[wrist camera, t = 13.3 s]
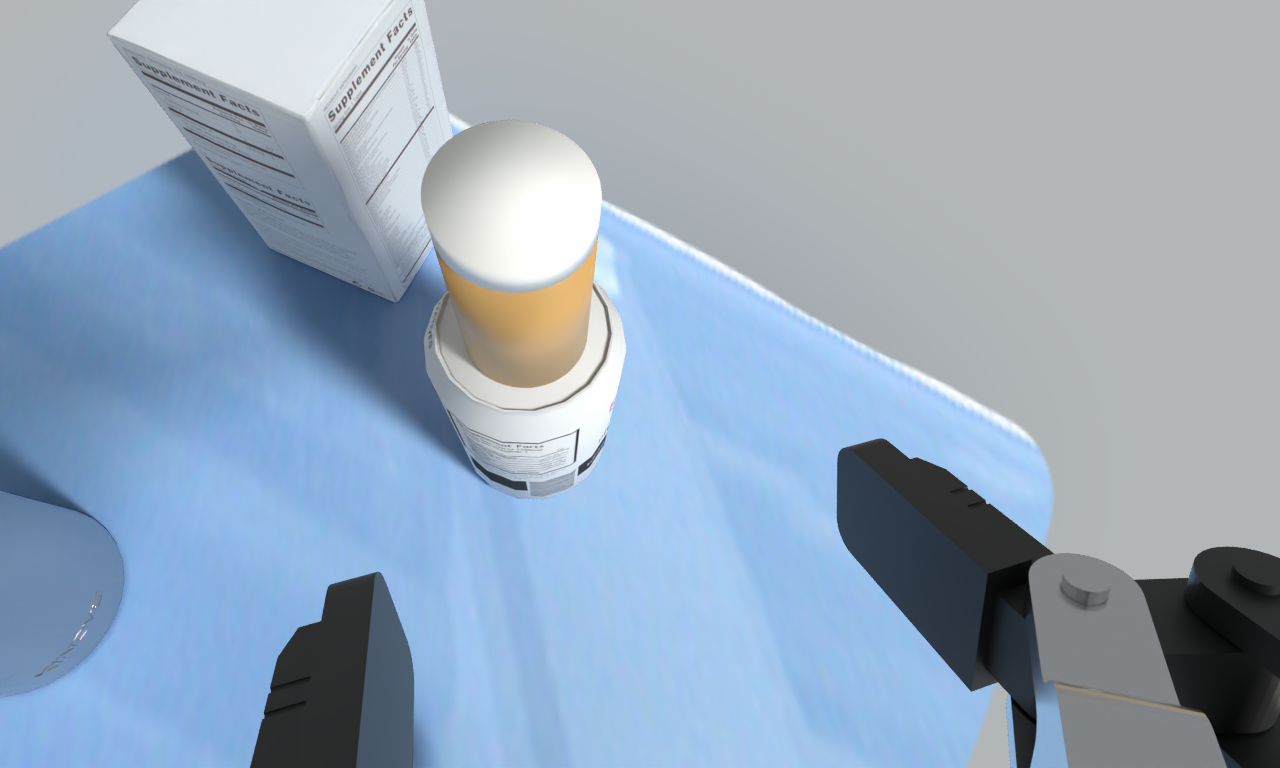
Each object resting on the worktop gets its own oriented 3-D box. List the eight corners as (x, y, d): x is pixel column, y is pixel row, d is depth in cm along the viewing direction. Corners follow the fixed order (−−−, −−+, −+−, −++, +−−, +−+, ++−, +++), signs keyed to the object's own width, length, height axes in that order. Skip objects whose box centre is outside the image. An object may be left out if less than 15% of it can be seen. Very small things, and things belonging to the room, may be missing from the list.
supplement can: (437, 421, 41) (374, 308, 27) (550, 344, 43) (547, 204, 29) (519, 531, 39) (498, 473, 25) (632, 444, 42) (670, 347, 27)
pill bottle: (439, 355, 26) (385, 223, 18) (500, 257, 28) (476, 95, 20) (554, 408, 26) (552, 300, 18) (607, 306, 28) (630, 163, 19)
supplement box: (344, 138, 46) (236, -116, 31) (469, 191, 46) (424, -38, 30) (263, 250, 43) (93, 29, 27) (397, 308, 43) (304, 119, 27)
